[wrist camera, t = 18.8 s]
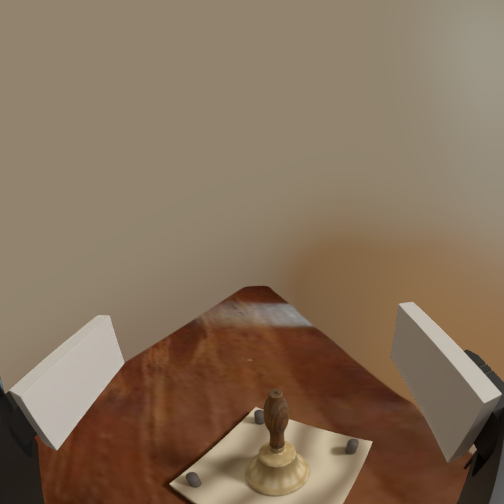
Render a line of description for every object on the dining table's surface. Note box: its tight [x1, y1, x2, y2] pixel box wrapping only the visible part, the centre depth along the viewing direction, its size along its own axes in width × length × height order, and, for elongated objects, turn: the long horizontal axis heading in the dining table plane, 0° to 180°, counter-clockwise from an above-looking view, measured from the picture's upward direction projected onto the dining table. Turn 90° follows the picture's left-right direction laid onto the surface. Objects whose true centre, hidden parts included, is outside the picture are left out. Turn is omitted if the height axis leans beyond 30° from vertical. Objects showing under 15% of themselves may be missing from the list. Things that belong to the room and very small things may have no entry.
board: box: [170, 407, 372, 504], centre depth 27 cm, size 20×20×4 cm
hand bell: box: [245, 389, 310, 496], centre depth 25 cm, size 8×8×16 cm
